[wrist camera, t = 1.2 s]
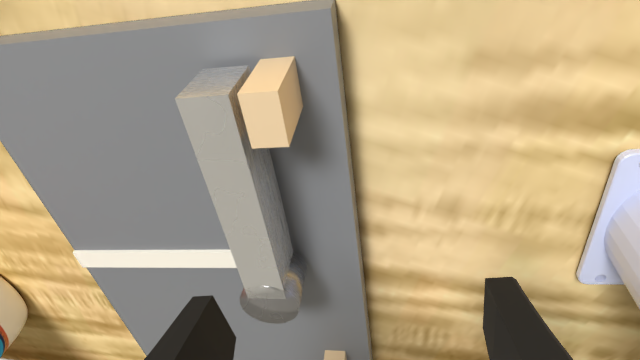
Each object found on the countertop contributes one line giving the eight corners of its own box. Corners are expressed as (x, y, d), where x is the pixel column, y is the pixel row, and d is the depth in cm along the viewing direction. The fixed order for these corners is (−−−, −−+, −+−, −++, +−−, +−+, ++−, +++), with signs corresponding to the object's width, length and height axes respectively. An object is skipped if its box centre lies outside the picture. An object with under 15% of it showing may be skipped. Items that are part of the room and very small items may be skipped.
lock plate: (334, -3, 15) (319, 36, 11) (372, 360, 29) (371, 429, 25) (-31, 39, 18) (-135, 81, 14) (164, 351, 32) (136, 411, 28)
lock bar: (310, 283, 22) (303, 324, 20) (259, 282, 22) (247, 322, 20) (262, 64, 15) (243, 93, 13) (189, 70, 15) (160, 99, 13)
